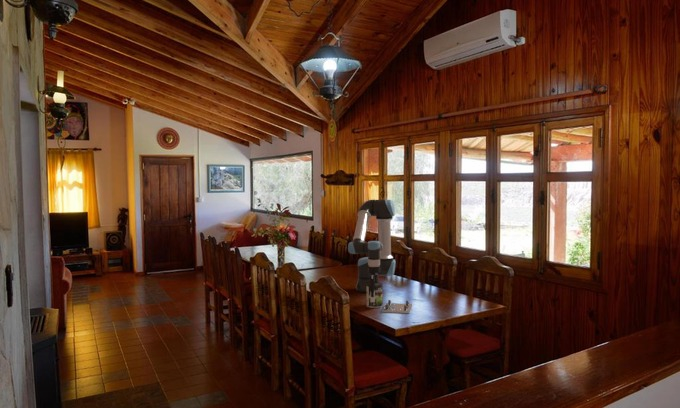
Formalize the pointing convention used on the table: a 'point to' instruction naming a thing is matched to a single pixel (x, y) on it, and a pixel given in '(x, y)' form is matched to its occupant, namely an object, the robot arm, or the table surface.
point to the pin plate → (397, 307)
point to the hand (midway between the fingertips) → (374, 299)
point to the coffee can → (378, 295)
